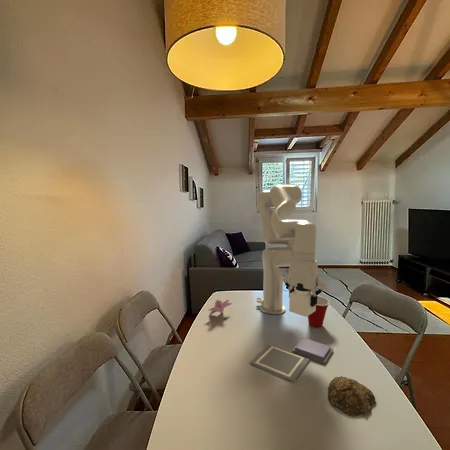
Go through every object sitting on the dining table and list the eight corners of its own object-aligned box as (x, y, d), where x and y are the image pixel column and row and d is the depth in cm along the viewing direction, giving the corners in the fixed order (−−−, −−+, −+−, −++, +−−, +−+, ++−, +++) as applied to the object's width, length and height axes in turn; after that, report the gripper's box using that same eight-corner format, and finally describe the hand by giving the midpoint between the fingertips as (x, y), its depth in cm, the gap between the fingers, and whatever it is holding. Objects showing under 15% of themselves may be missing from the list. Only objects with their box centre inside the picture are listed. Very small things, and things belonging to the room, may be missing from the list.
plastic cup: (329, 332, 118) (330, 305, 116) (302, 328, 121) (303, 301, 120) (328, 321, 128) (329, 296, 126) (304, 317, 131) (305, 293, 130)
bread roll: (334, 379, 89) (335, 364, 88) (378, 397, 81) (379, 381, 81) (319, 402, 79) (320, 386, 79) (367, 425, 71) (368, 407, 71)
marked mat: (249, 363, 96) (249, 361, 96) (268, 345, 107) (268, 343, 107) (293, 382, 87) (293, 380, 87) (309, 360, 98) (309, 358, 98)
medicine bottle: (315, 311, 104) (317, 280, 102) (306, 317, 99) (307, 284, 97) (298, 305, 109) (299, 276, 107) (288, 311, 104) (289, 280, 102)
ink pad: (291, 352, 103) (292, 347, 103) (301, 341, 111) (302, 336, 111) (324, 364, 96) (325, 359, 96) (333, 351, 104) (333, 346, 104)
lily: (236, 315, 136) (229, 296, 138) (236, 316, 125) (229, 295, 127) (212, 324, 135) (206, 304, 138) (210, 325, 124) (204, 304, 126)
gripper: (277, 254, 104) (276, 300, 106) (324, 261, 93) (322, 312, 95) (286, 251, 110) (285, 294, 112) (331, 257, 99) (329, 305, 101)
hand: (302, 302), depth 103 cm, fingers closed on medicine bottle, 7 cm apart
